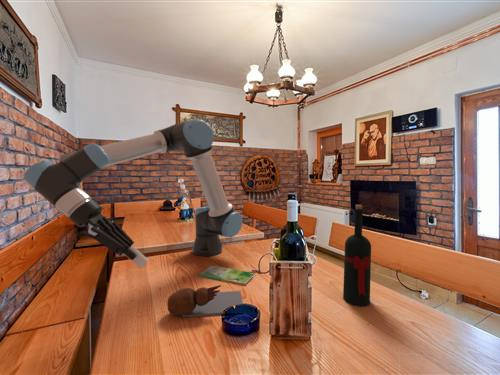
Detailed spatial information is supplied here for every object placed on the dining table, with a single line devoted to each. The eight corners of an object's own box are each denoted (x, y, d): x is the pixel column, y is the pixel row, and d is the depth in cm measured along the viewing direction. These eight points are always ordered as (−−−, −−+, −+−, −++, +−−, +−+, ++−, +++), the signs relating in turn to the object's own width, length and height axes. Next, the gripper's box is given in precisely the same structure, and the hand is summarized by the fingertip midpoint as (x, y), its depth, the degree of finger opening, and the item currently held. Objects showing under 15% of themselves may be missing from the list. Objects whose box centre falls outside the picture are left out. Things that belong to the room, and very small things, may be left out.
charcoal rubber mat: (182, 317, 67) (182, 315, 67) (188, 295, 79) (188, 293, 79) (243, 313, 69) (243, 311, 69) (240, 292, 81) (240, 290, 81)
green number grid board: (245, 287, 86) (256, 276, 95) (245, 283, 86) (256, 272, 95) (198, 277, 94) (212, 268, 103) (198, 273, 94) (212, 265, 103)
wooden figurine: (168, 289, 70) (219, 275, 72) (173, 305, 72) (223, 292, 73) (163, 304, 64) (219, 289, 65) (169, 322, 65) (224, 307, 66)
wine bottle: (347, 309, 71) (350, 207, 69) (340, 292, 81) (342, 203, 79) (376, 312, 69) (379, 208, 68) (365, 294, 79) (368, 203, 78)
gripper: (83, 214, 74) (142, 265, 77) (55, 222, 61) (127, 283, 64) (101, 196, 74) (159, 248, 77) (77, 201, 61) (147, 263, 64)
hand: (144, 264), depth 70 cm, fingers closed
